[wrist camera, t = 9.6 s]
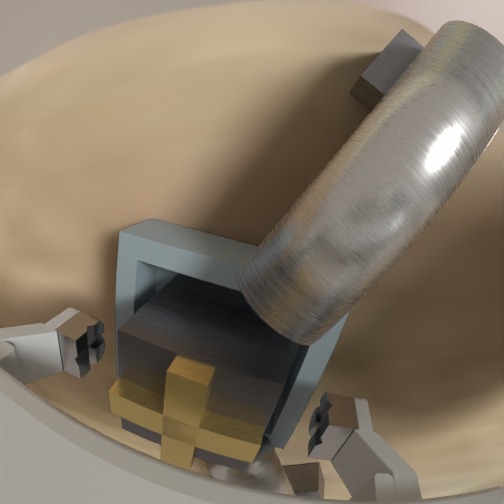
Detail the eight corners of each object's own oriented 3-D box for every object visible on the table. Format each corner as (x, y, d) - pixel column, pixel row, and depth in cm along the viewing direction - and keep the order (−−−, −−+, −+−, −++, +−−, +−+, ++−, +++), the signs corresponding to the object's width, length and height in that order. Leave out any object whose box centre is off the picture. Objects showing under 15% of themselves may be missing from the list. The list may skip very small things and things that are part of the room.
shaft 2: (330, 297, 11) (343, 380, 7) (241, 224, 11) (195, 268, 6) (472, 127, 9) (555, 116, 4) (389, 46, 8) (437, -17, 4)
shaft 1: (211, 401, 14) (180, 478, 9) (297, 392, 13) (290, 479, 8) (260, 487, 16) (247, 545, 11) (324, 482, 15) (322, 544, 10)
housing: (345, 270, 11) (355, 296, 9) (287, 412, 13) (283, 448, 11) (151, 218, 12) (119, 231, 9) (140, 366, 14) (117, 394, 12)
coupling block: (293, 306, 11) (282, 404, 6) (262, 391, 13) (241, 486, 8) (179, 272, 12) (103, 342, 7) (167, 360, 13) (113, 441, 8)
